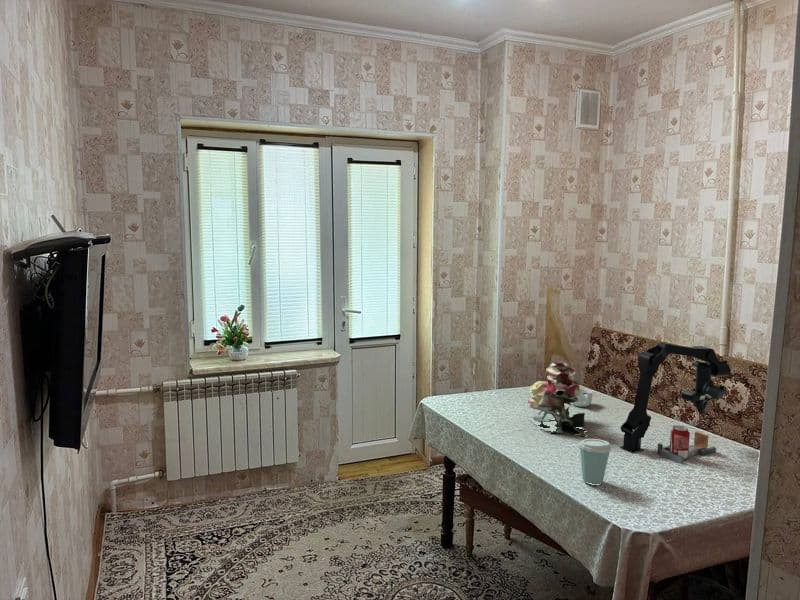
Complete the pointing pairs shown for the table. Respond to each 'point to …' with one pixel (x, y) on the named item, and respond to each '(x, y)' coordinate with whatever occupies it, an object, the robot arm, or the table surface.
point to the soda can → (679, 441)
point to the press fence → (669, 454)
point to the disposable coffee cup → (594, 459)
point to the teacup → (584, 398)
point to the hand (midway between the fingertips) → (701, 414)
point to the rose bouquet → (557, 398)
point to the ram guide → (706, 450)
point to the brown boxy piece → (699, 443)
